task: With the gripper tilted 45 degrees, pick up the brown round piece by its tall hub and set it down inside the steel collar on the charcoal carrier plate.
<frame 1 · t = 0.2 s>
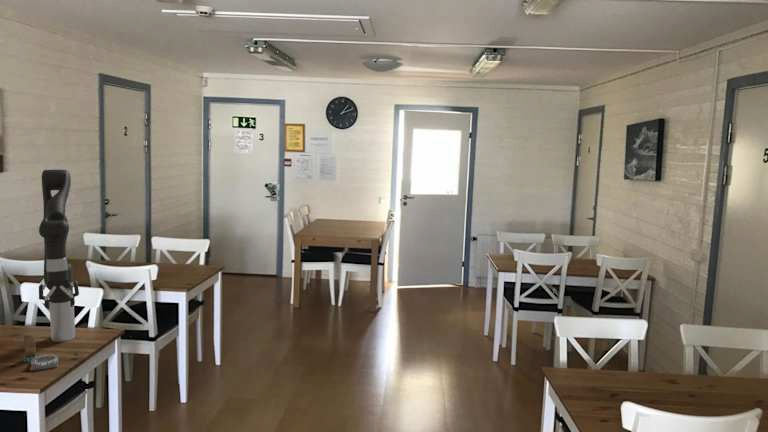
hand: (60, 307, 235), 17 cm above the table, tool pointing down, fingers open, 8 cm apart
brown round piece: (30, 359, 224), on the table
carrier plate: (44, 365, 220), on the table
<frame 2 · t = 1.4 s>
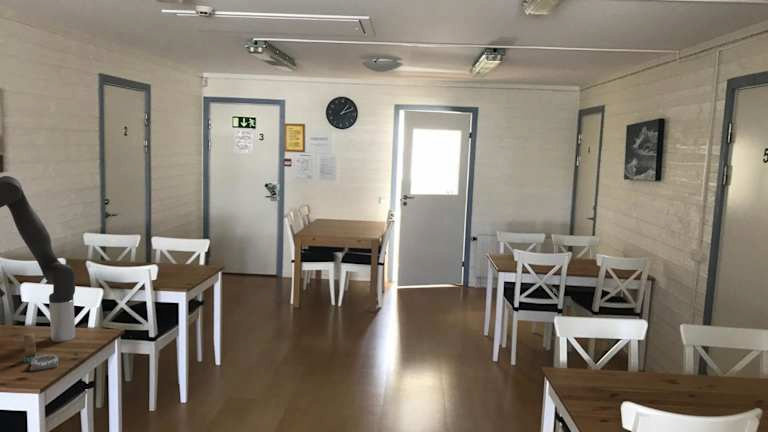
nothing on the table moved.
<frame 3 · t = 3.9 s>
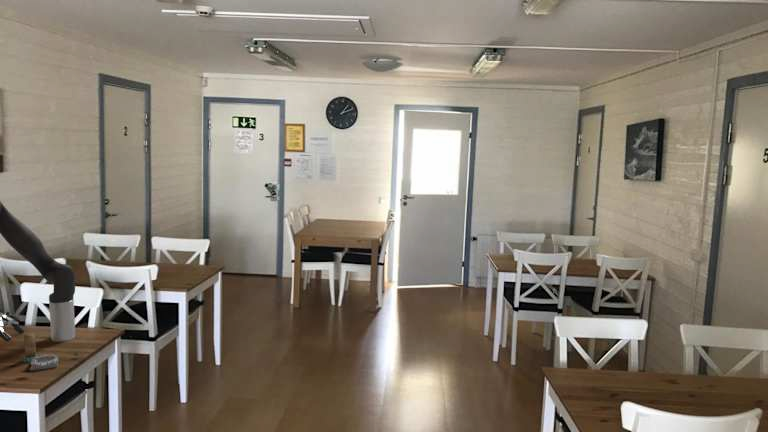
hand: (16, 336, 223), 10 cm above the table, tool tilted 45°, fingers open, 8 cm apart
nothing on the table moved.
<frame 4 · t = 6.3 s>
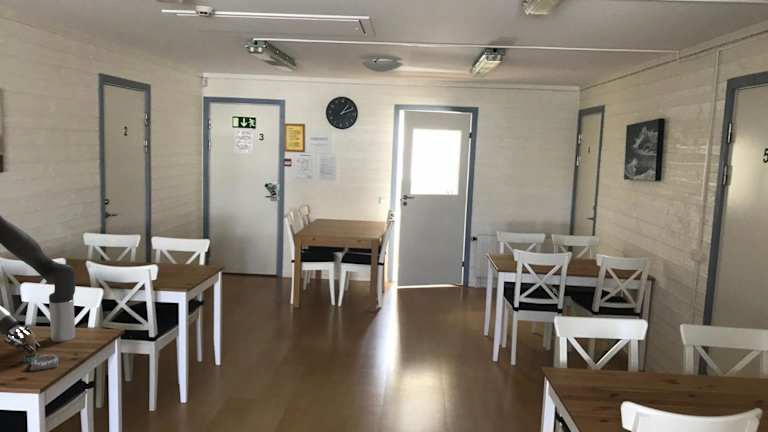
hand: (35, 349, 224), 4 cm above the table, tool tilted 45°, fingers closed on brown round piece, 3 cm apart
brown round piece: (30, 359, 224), on the table, touching gripper
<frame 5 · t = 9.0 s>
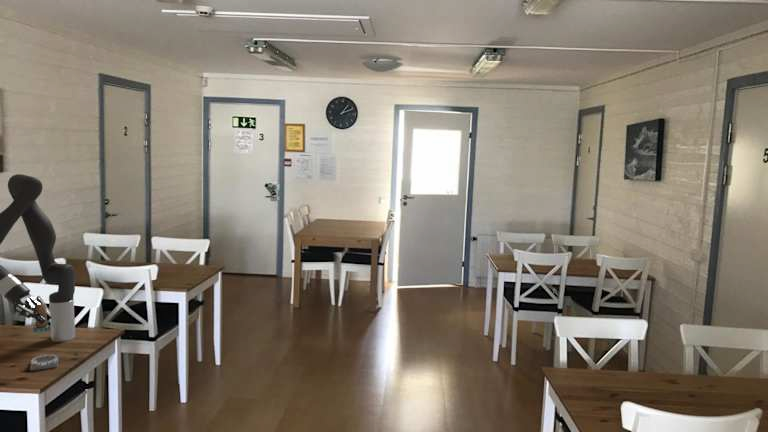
hand: (46, 320, 217), 18 cm above the table, tool tilted 45°, fingers closed on brown round piece, 3 cm apart
brown round piece: (42, 330, 218), point 14 cm above the table, touching gripper
when the fingers open (7 cm above the table, at t = 11.8 s): brown round piece drops 2 cm, resting on carrier plate.
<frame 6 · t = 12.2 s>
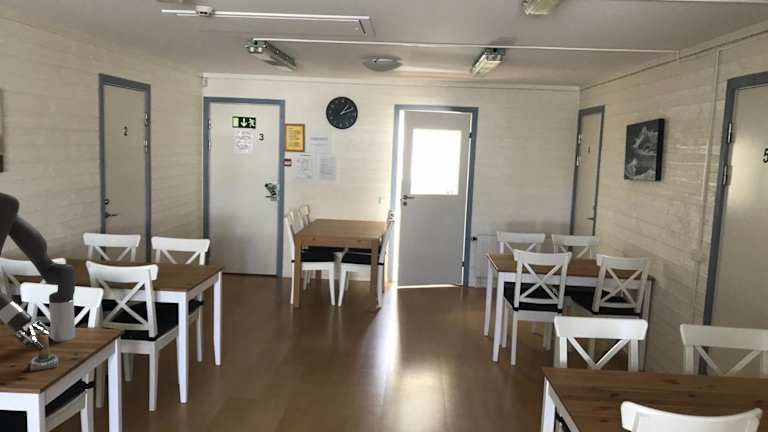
hand: (47, 346, 219), 8 cm above the table, tool tilted 45°, fingers open, 7 cm apart
brown round piece: (44, 361, 219), point 1 cm above the table, touching carrier plate
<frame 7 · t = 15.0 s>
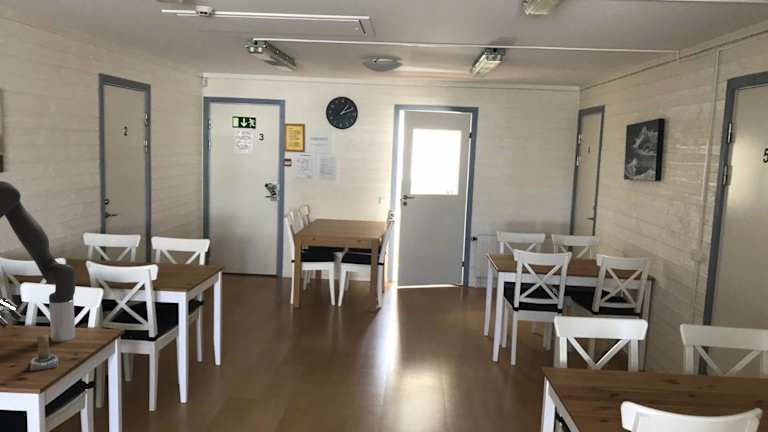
hand: (13, 322, 217), 17 cm above the table, tool tilted 45°, fingers open, 8 cm apart
nothing on the table moved.
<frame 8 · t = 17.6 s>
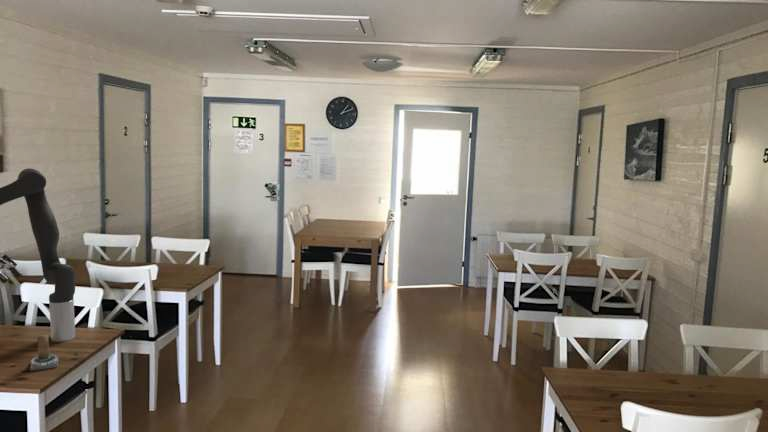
hand: (13, 278, 220), 33 cm above the table, tool tilted 45°, fingers open, 8 cm apart
nothing on the table moved.
at the end: brown round piece 0.1 cm off-centre on the carrier plate, point 1.5 cm above the carrier plate's base; brown round piece tilted 0°; the gripper is holding nothing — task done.
